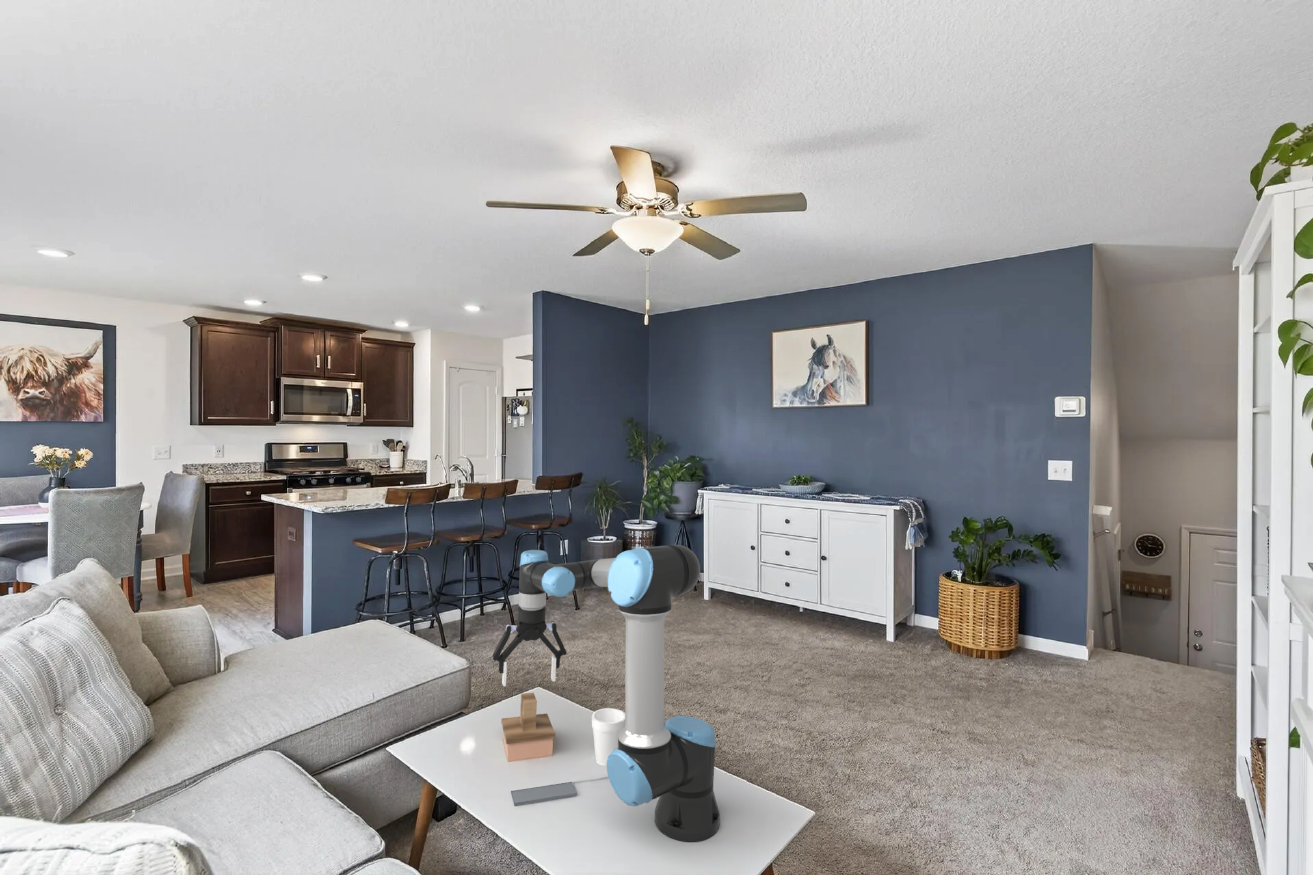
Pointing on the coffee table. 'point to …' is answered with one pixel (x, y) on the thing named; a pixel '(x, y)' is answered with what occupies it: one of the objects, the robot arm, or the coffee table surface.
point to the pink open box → (528, 749)
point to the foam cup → (606, 732)
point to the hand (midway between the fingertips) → (528, 682)
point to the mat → (543, 793)
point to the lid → (527, 723)
